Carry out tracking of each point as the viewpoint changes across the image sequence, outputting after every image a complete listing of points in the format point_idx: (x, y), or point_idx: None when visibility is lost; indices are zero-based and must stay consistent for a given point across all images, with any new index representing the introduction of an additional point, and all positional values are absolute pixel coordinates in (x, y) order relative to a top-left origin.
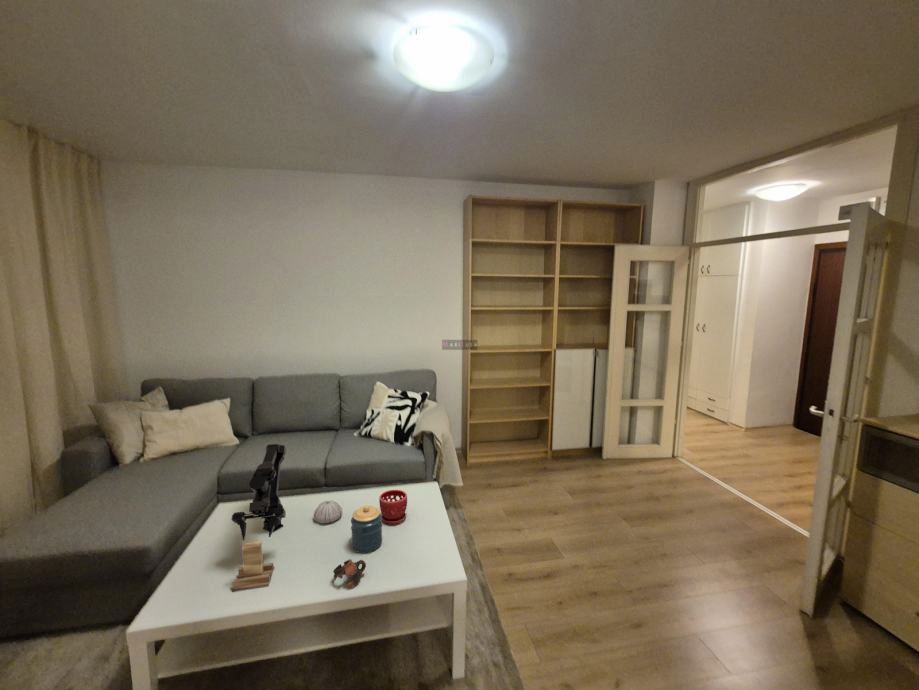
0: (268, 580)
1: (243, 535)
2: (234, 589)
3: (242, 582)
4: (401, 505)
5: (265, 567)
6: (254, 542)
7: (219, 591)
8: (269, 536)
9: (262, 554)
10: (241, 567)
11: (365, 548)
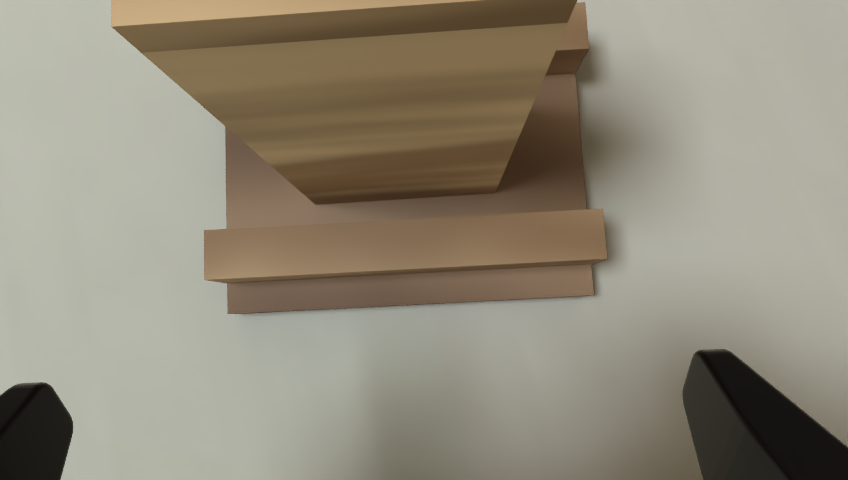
0: None
1: (769, 422)
2: None
3: None
4: None
5: (290, 228)
6: (308, 14)
7: (696, 44)
8: (32, 387)
9: (242, 135)
10: (579, 254)
11: None
